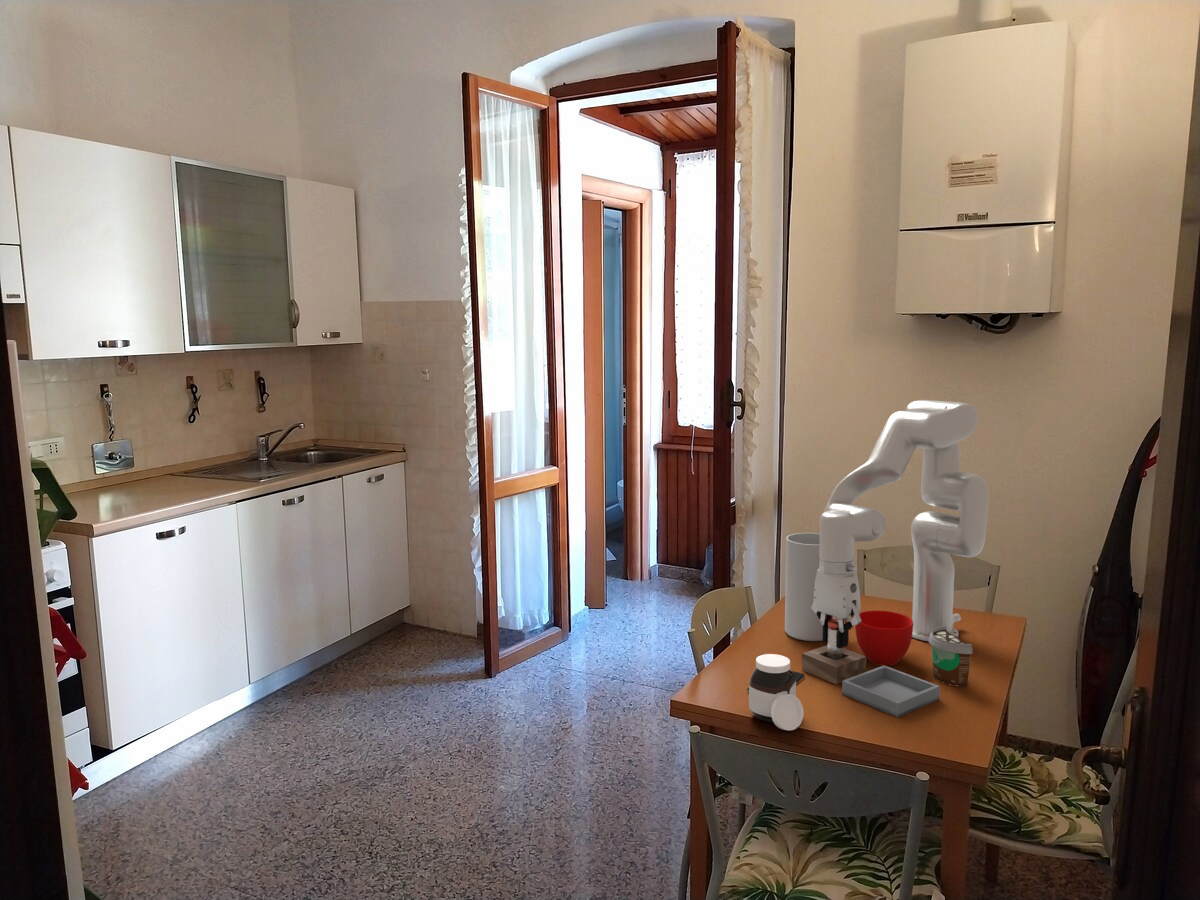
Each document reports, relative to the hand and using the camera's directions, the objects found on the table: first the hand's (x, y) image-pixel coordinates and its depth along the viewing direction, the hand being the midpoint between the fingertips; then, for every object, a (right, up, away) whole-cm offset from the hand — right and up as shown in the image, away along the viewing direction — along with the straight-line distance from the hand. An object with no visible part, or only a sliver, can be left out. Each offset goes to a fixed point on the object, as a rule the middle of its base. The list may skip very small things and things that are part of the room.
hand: (835, 643), depth 195 cm
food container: (+23, -7, -4) cm, 24 cm away
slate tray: (+8, -8, -13) cm, 17 cm away
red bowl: (+15, -6, +8) cm, 18 cm away
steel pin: (0, -6, +1) cm, 6 cm away
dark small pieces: (-15, -8, -5) cm, 18 cm away
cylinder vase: (0, -3, +25) cm, 25 cm away
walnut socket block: (0, -7, +1) cm, 7 cm away
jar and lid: (-18, -10, -22) cm, 30 cm away
